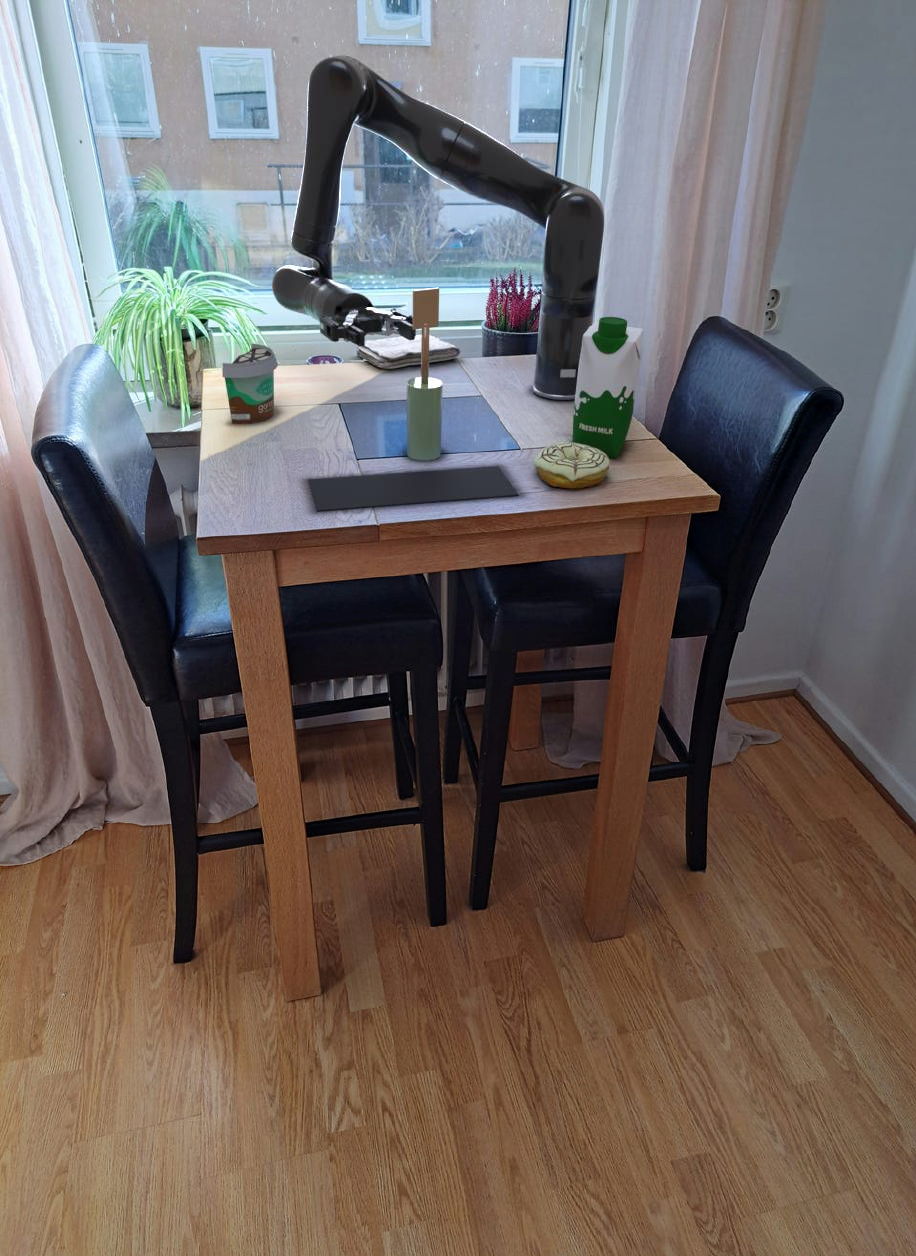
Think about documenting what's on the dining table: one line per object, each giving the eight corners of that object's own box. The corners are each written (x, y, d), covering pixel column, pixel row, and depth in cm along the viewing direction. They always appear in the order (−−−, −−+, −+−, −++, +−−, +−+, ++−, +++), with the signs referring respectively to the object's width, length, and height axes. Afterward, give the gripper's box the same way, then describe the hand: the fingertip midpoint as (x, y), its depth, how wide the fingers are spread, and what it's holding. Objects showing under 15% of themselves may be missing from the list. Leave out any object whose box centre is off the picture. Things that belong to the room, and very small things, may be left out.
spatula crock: (430, 445, 137) (433, 283, 124) (447, 457, 134) (452, 291, 120) (400, 451, 135) (400, 286, 122) (417, 463, 131) (418, 295, 118)
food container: (264, 430, 140) (259, 367, 134) (228, 426, 141) (221, 364, 135) (292, 405, 150) (288, 345, 145) (258, 401, 151) (252, 342, 145)
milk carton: (565, 453, 137) (579, 320, 126) (578, 433, 144) (592, 306, 133) (621, 462, 134) (641, 328, 123) (631, 442, 142) (651, 313, 131)
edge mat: (498, 467, 131) (498, 466, 131) (518, 495, 123) (518, 494, 123) (308, 480, 125) (308, 479, 125) (316, 511, 117) (316, 510, 117)
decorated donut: (519, 476, 129) (521, 451, 127) (564, 456, 135) (567, 433, 133) (576, 498, 123) (579, 473, 121) (620, 477, 130) (624, 453, 127)
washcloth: (352, 355, 175) (351, 339, 173) (430, 344, 183) (430, 329, 181) (380, 372, 166) (380, 355, 165) (461, 359, 175) (461, 344, 173)
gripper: (300, 290, 140) (344, 315, 129) (381, 283, 147) (429, 306, 135) (303, 338, 144) (346, 367, 133) (381, 329, 151) (428, 356, 139)
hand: (388, 336), depth 134 cm, fingers open, 8 cm apart
